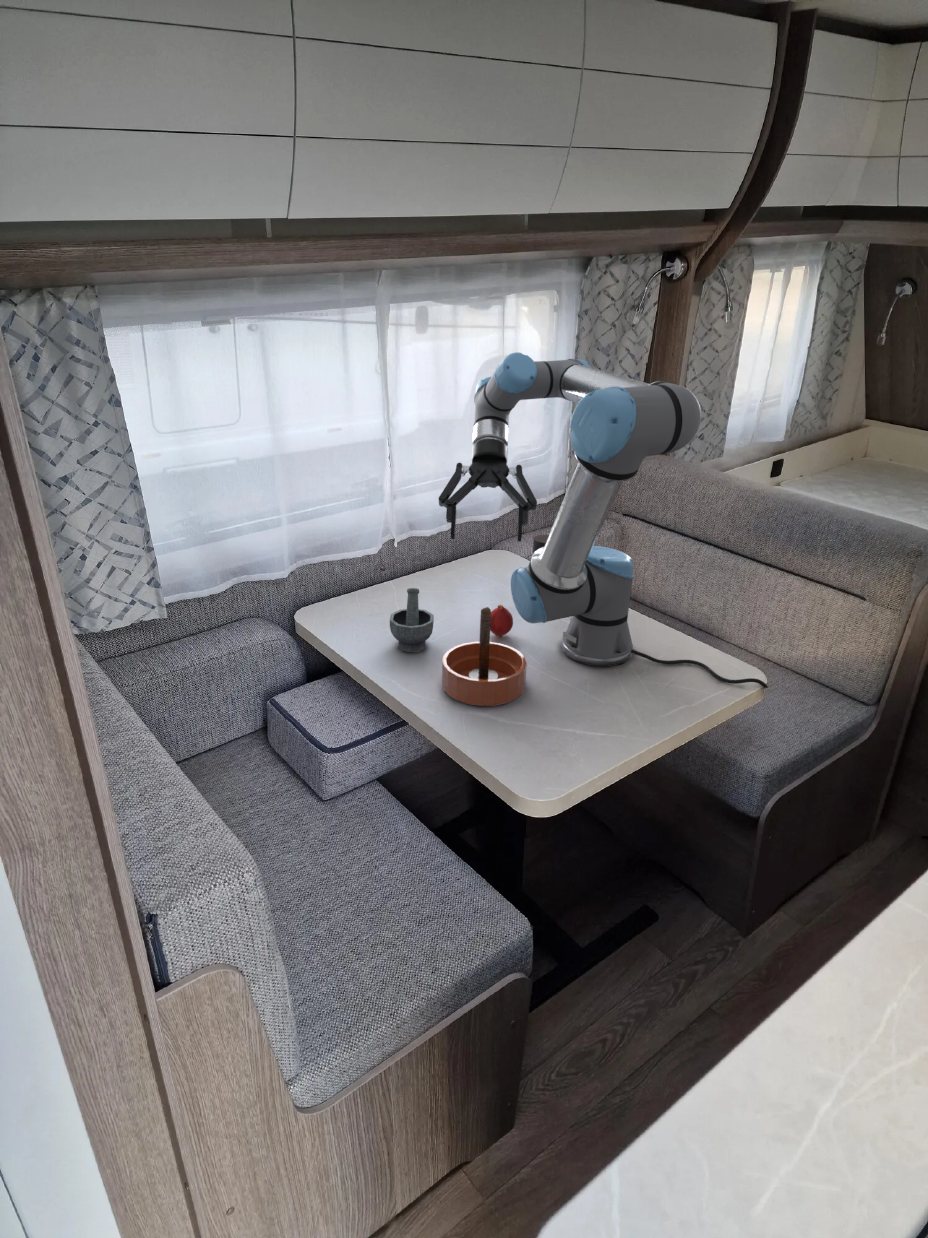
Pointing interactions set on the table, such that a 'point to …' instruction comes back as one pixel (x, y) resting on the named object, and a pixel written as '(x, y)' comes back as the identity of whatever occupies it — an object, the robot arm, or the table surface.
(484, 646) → the wooden peg stand
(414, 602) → the mortar and pestle
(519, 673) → the bowl
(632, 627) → the table surface
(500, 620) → the onion
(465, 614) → the table surface
